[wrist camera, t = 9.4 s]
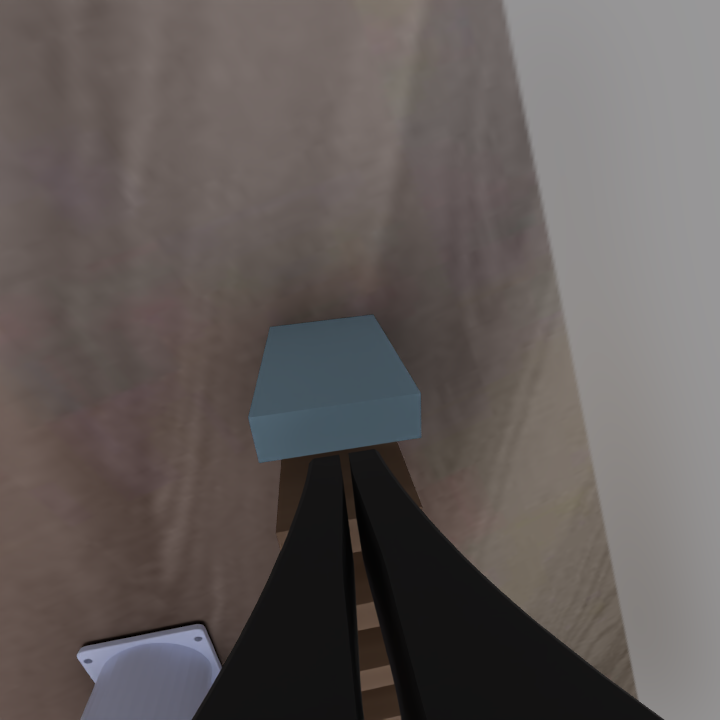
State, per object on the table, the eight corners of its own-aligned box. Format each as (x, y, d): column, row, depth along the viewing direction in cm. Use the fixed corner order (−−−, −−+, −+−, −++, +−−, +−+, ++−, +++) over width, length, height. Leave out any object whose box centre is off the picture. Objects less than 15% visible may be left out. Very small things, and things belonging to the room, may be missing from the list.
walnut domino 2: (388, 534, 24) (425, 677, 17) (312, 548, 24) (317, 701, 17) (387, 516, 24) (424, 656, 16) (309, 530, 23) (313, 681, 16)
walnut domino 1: (380, 419, 21) (422, 539, 13) (290, 433, 20) (284, 565, 13) (378, 394, 20) (422, 506, 13) (285, 408, 20) (275, 533, 12)
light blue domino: (375, 344, 19) (421, 437, 12) (275, 357, 18) (259, 462, 11) (373, 314, 18) (420, 392, 11) (270, 326, 18) (248, 417, 10)
